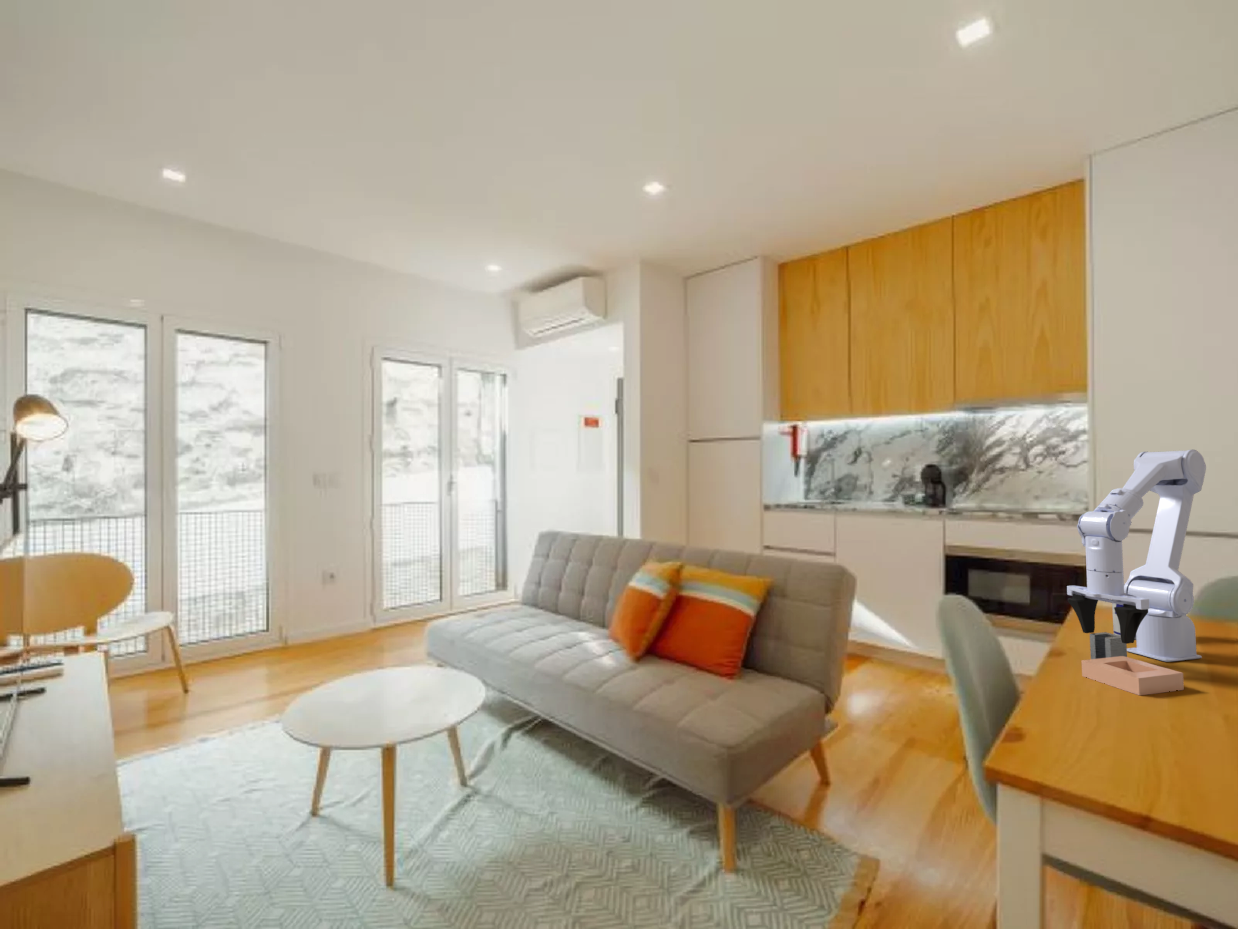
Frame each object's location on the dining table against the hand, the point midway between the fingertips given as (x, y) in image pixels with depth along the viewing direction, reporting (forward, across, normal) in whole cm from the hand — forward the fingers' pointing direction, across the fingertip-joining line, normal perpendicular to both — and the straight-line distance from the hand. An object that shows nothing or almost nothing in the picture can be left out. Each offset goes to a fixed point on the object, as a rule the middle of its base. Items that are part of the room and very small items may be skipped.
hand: (1107, 637), depth 114 cm
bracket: (+6, 0, 0) cm, 6 cm away
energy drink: (+6, -14, +24) cm, 28 cm away
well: (+6, +8, -6) cm, 12 cm away
